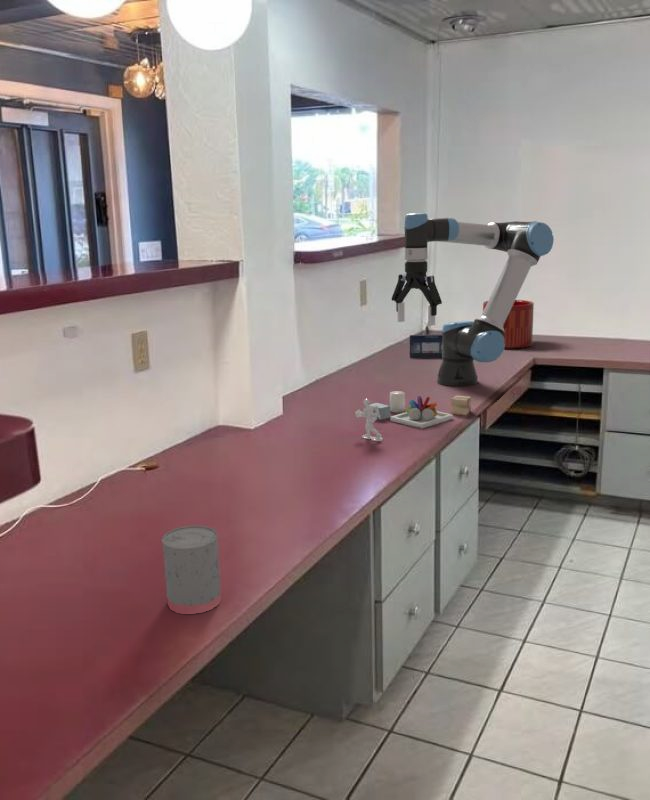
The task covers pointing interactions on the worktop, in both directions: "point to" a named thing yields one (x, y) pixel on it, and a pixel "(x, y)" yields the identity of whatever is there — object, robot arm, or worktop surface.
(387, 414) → the slate block
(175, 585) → the speckled grey cylinder
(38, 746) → the worktop surface
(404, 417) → the tray
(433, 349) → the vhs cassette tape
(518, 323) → the planter
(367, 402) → the figurine
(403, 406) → the white domed cylinder
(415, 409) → the multicoloured rounded cluster
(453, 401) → the oak block
